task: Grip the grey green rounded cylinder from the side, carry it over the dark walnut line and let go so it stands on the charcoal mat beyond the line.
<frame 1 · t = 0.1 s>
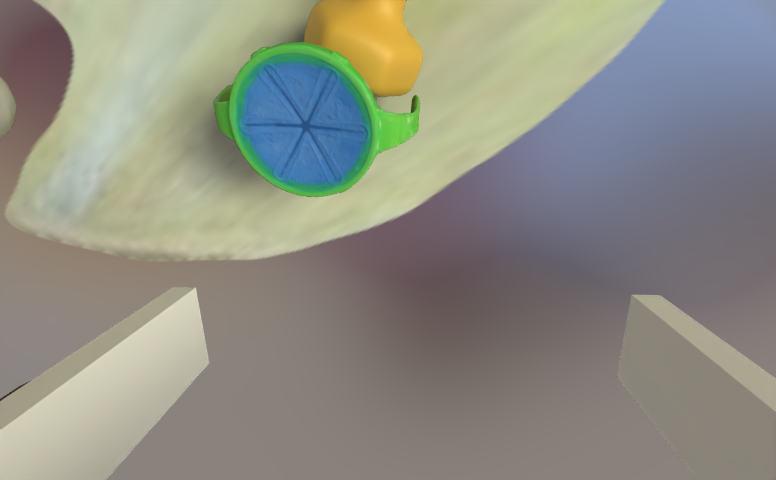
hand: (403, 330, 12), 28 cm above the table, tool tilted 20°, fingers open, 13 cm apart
snack cup: (336, 92, 35), on the table, touching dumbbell
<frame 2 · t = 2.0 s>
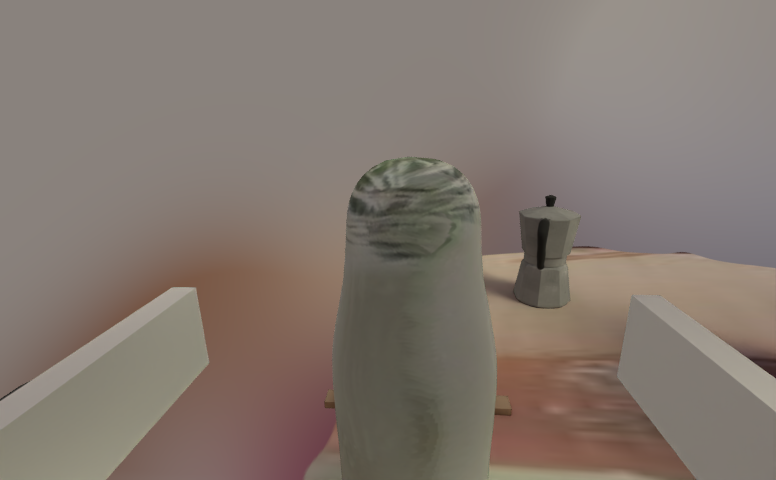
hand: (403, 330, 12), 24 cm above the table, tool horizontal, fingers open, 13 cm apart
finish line: (416, 404, 42), on the table
coffeepot: (539, 300, 66), on the table
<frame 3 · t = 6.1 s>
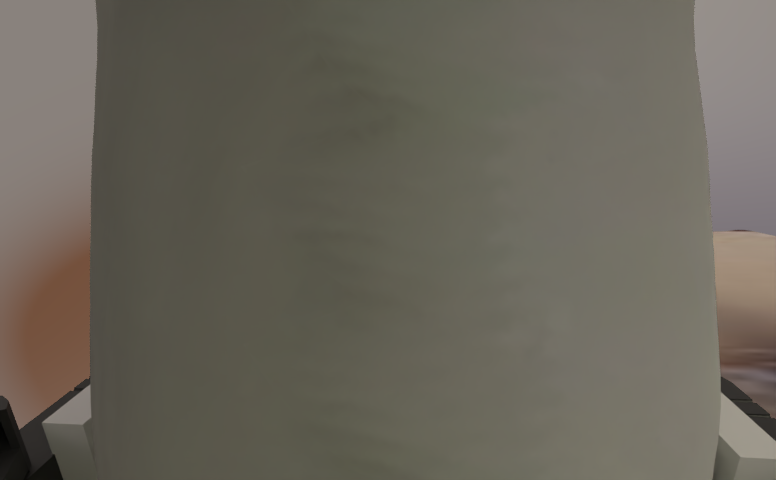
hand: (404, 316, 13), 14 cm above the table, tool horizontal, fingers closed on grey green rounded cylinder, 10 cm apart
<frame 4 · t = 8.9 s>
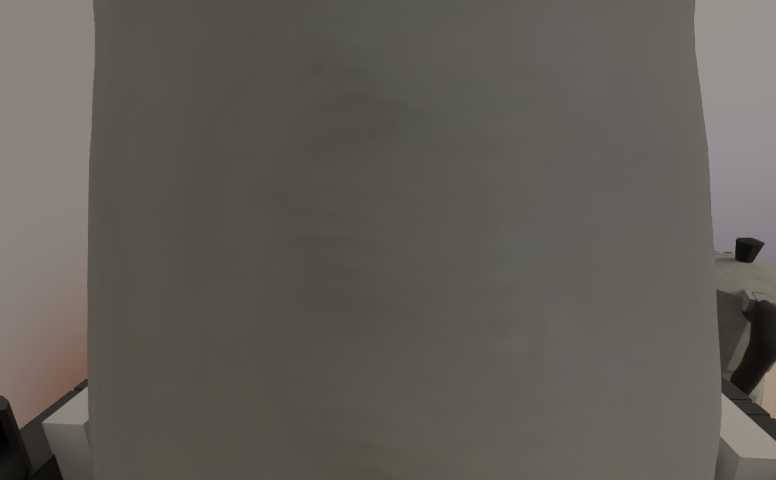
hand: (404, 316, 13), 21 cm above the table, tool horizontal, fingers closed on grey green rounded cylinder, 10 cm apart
coffeepot: (690, 432, 34), on the table
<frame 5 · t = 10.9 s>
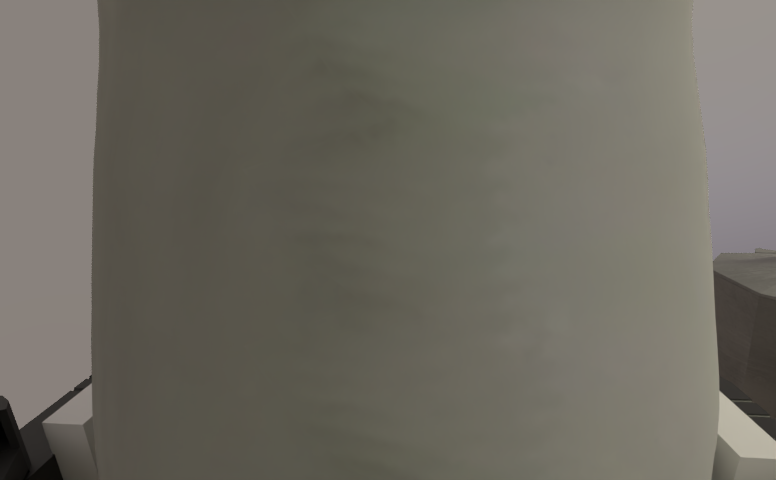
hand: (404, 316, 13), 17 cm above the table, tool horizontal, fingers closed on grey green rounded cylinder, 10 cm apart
when the fingers open (16 cm above the table, at t = 11.7 s): grey green rounded cylinder drops 1 cm, resting on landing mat.
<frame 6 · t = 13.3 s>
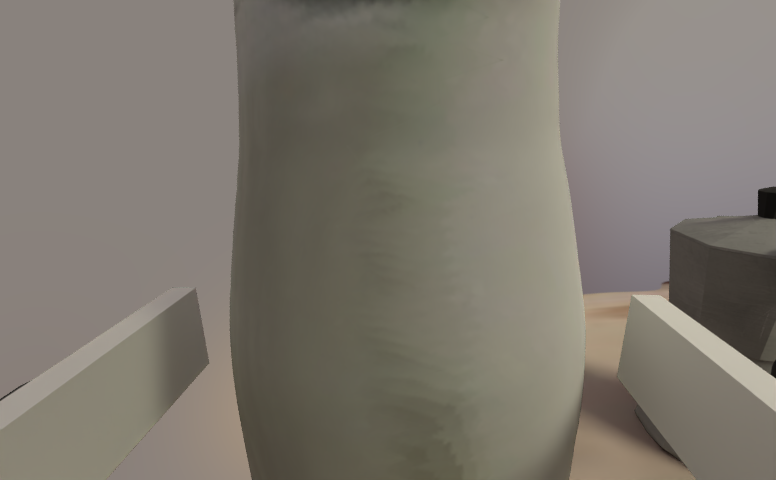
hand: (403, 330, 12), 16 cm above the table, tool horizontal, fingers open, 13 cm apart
coffeepot: (712, 447, 27), on the table
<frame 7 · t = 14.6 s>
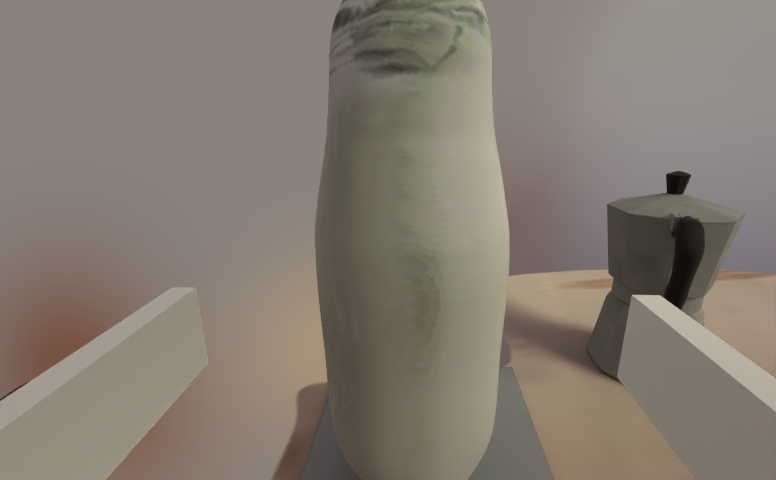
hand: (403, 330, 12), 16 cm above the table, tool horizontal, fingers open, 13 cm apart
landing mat: (425, 458, 26), on the table
coffeepot: (641, 371, 35), on the table
grey green rounded cylinder: (411, 466, 25), resting on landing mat
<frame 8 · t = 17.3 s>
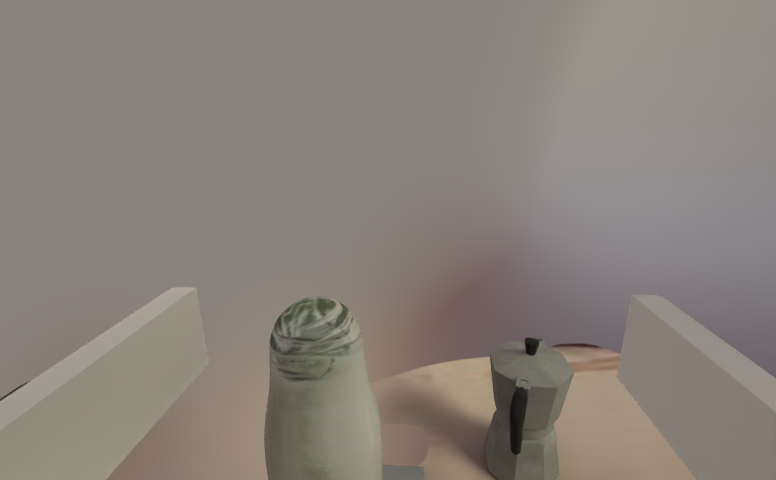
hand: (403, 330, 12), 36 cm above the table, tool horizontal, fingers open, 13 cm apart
coffeepot: (518, 470, 49), on the table
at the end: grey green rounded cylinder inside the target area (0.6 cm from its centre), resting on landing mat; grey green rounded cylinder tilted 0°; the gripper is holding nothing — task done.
